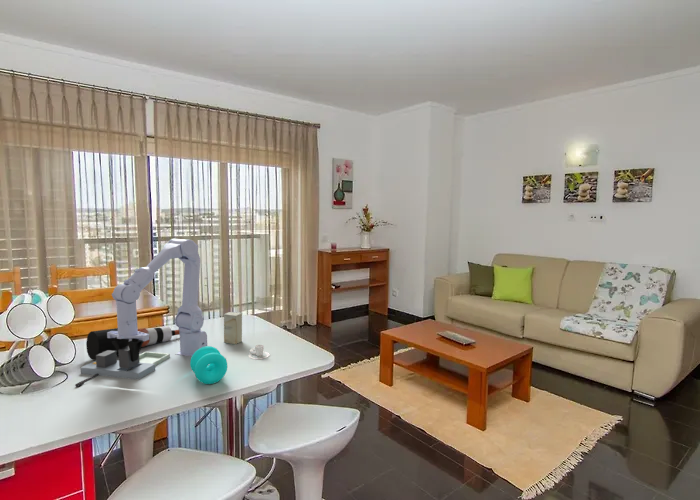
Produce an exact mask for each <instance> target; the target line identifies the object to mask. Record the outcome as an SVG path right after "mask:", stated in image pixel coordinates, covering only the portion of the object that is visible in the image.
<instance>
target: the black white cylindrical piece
mask: <svg viewBox="0 0 700 500" xmlns="http://www.w3.org/2000/svg"><path fill="white" fill-rule="evenodd" d="M110 331H118V327H116V328H108V329H100V330H93V331H90V332H89V333H88V334H87V337H86V342H85V343H86V353H87V355H88V357H89V359H91V360H93V361H96V355H98V354H100V353H102V352H105V351H107V350H111V351H116V353H117V356H119V353H118V351H117V349H116V348H115V346H114V345H113V344H112V341H114V340H115V338H107V332H110ZM138 331H139V332H142V333H146V334H149V340H147V341H144V342H143V344H142V346H141V348H144V347H147V346H150V345H155V344H160V343H166V342H170V341H171V339H172V337H174V336H180V333H179V329H175V330H174V329H173V330H172V329H171V328H170V326H162V327H151V328H150V327H149V328H138ZM129 341H132V339H129Z"/></svg>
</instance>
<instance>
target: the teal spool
mask: <svg viewBox="0 0 700 500" xmlns="http://www.w3.org/2000/svg"><path fill="white" fill-rule="evenodd" d="M189 366H190V368H191V371H192V372H193V373H194V374H195V377H196V379H197V381H199V383H202V384H204V385H213V384H216V383H218V382H219V381H220V380H222V379H223V378H224V376H225V375H226V373H227V371H228V361H227V359H226V357H225V356H224V355H222V354H221V352H220V351H219V350H218V348H216V347H214V346H210V345H207V346H205V347H202V348H200V349H198V350H197V351H196V352H195V353H194V354H193V355H192V356H190V364H189Z"/></svg>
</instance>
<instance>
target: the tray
mask: <svg viewBox="0 0 700 500" xmlns="http://www.w3.org/2000/svg"><path fill="white" fill-rule="evenodd" d="M169 358H171V354H170V353H164V352H154V351H144V352H143V353H139V362H140V363H150V364H155V367H156V366H158V365H159V364H161V363H163V362H164V361H166V360H168V359H169Z"/></svg>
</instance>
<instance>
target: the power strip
mask: <svg viewBox="0 0 700 500" xmlns="http://www.w3.org/2000/svg"><path fill="white" fill-rule="evenodd" d="M117 356H118V355H117V353H116V351H111V350H107V351H105V352H102V353H100V354H98V355H96V359H95V360H93V361H92V362H90V363H87V364H85V365H83V366H81V367H80V373H81V374H84V375H91V376H90V377H88V378H86V379H84V380H81V381H79V382H77V383H75V384H74V386H75V388H77V387H80V386H82V385H84V384H85V383H87V382H88V381H90V380H92V379H95V378H96V377H99V376H102V377H112V378H121V379H131V380H140V379H142V378H143V377H145V376H147V375H149V374H150V373H152V372H154V371H156V366H155V364H150V363H138V364H136V365H134V366H132V367H130V368H120V367H119V359H118V357H117ZM130 369H131V370H130Z"/></svg>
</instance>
